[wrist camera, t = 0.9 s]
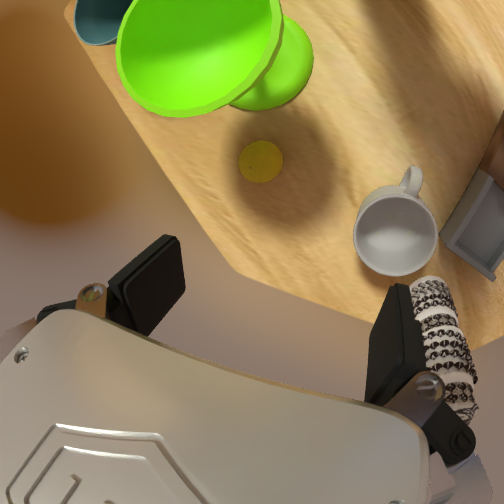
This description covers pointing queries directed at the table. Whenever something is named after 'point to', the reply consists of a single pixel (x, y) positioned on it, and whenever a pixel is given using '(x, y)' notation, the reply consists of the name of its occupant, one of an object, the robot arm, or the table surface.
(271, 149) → the lemon
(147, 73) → the wineglass
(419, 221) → the teacup
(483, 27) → the table surface
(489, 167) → the walnut wavy ramp
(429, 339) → the decorative candle
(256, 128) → the table surface
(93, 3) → the plant pot
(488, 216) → the box
